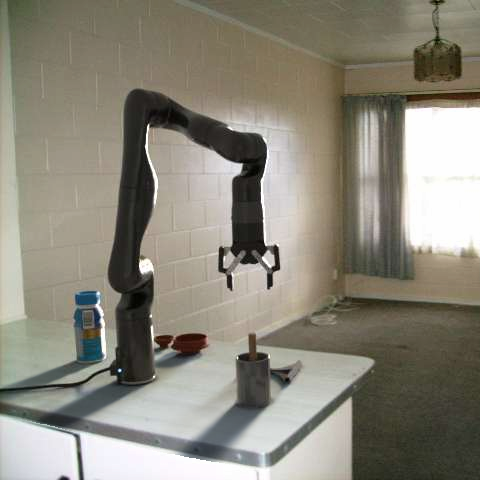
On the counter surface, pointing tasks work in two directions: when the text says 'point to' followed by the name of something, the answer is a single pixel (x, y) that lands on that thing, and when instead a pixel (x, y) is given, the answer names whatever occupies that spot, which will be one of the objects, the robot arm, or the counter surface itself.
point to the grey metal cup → (253, 380)
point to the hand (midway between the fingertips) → (250, 289)
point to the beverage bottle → (89, 328)
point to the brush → (252, 347)
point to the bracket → (287, 371)
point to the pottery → (184, 342)
